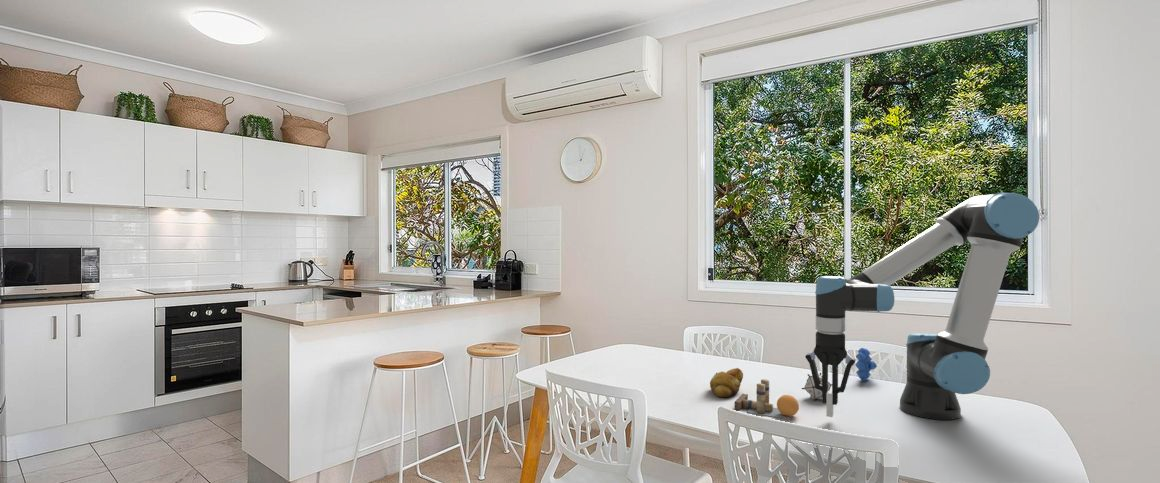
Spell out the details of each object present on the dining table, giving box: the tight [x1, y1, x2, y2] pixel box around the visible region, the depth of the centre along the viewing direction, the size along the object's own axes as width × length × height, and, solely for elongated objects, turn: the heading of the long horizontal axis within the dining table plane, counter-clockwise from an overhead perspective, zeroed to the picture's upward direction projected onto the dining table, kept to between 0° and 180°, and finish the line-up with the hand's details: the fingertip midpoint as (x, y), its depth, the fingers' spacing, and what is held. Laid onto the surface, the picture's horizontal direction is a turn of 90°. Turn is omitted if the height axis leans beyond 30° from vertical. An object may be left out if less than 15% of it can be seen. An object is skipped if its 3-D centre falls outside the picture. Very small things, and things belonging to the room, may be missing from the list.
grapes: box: [854, 347, 878, 382], centre depth 191 cm, size 12×7×12 cm, turn 139°
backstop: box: [734, 393, 749, 412], centre depth 166 cm, size 2×9×2 cm, turn 148°
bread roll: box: [709, 367, 744, 398], centre depth 179 cm, size 13×10×8 cm
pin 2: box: [760, 379, 770, 404], centre depth 164 cm, size 2×2×8 cm
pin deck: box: [746, 406, 793, 421], centre depth 161 cm, size 12×8×1 cm, turn 58°
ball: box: [776, 394, 800, 417], centre depth 157 cm, size 6×6×6 cm
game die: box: [801, 372, 832, 402], centre depth 172 cm, size 9×8×10 cm
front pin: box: [742, 399, 774, 412], centre depth 163 cm, size 2×2×8 cm
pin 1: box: [755, 382, 765, 414], centre depth 160 cm, size 2×2×8 cm
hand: (829, 415), depth 152 cm, fingers closed
